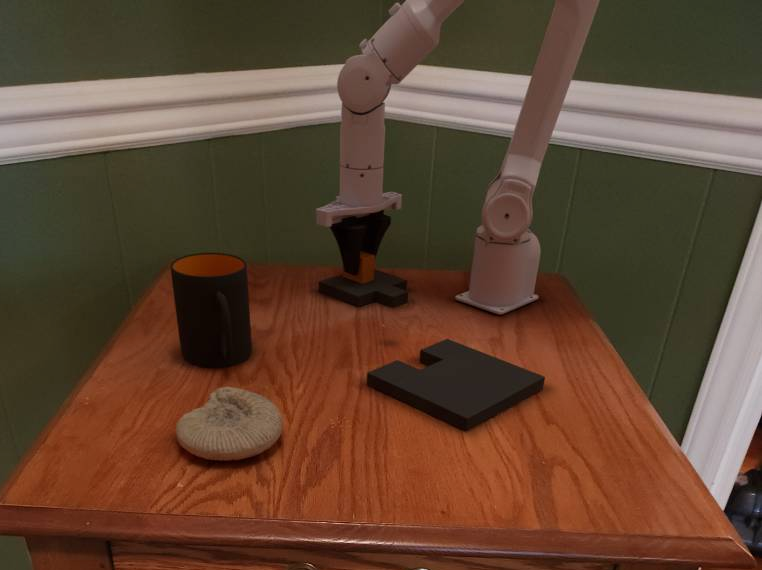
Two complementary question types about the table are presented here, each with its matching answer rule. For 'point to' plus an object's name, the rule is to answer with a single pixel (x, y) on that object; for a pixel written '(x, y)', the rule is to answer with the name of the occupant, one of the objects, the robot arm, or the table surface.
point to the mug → (212, 309)
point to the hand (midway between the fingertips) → (358, 270)
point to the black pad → (366, 285)
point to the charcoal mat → (457, 384)
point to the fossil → (230, 426)
